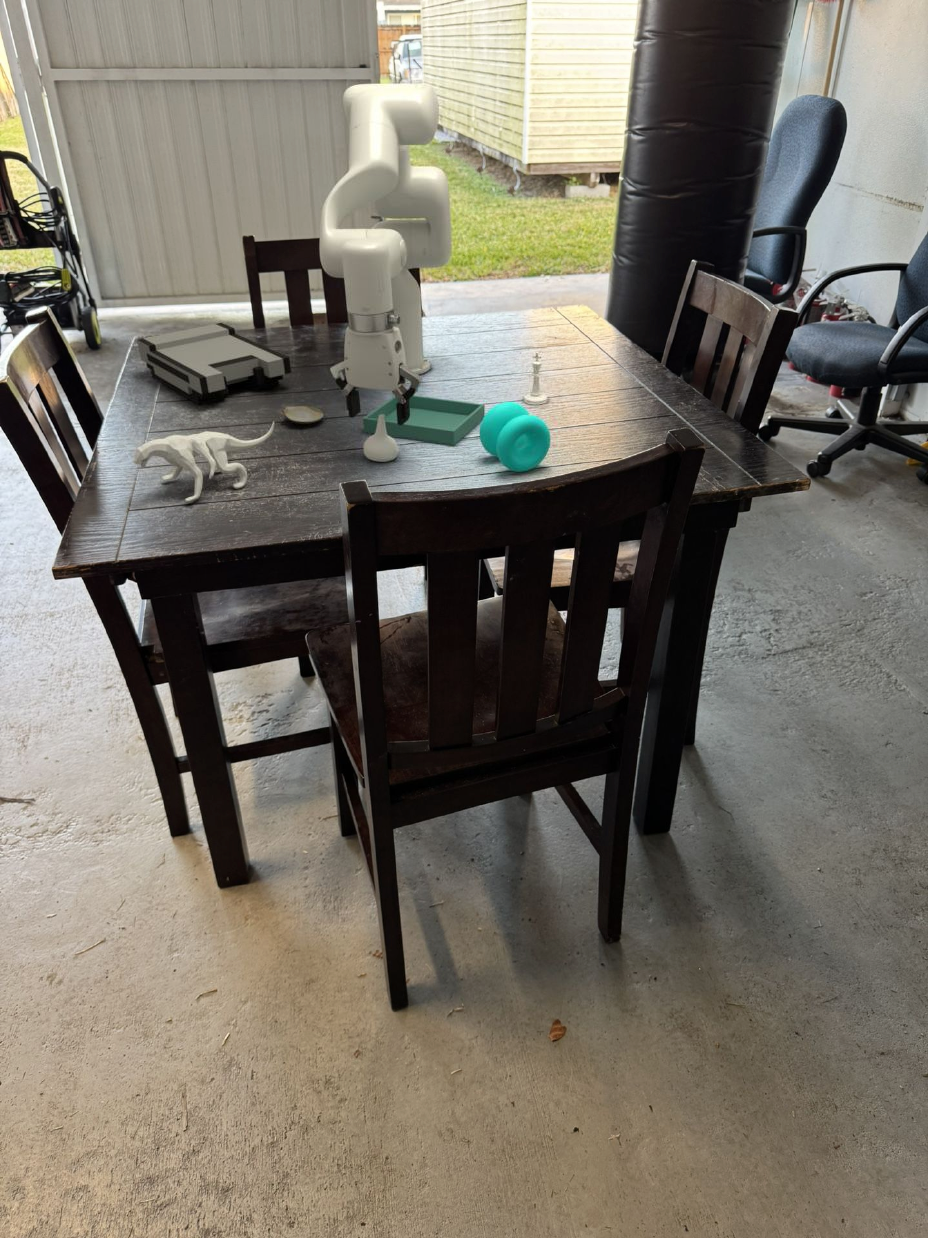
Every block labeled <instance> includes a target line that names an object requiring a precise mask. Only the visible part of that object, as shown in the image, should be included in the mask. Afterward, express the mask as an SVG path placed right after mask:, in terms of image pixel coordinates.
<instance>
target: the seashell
mask: <svg viewBox="0 0 928 1238" xmlns="http://www.w3.org/2000/svg"><path fill="white" fill-rule="evenodd" d="M279 415H280V416H283V417H284V416H285V418H286V419H287V420H288V421H290V422H292V423H294V424H299V425H309V424H313V423H317V422H319V421H321V420H322V419H323V418H324V412H323V411H321V410H320V409H318V408H316V407H313V406H306V405H300V406H286V407H284V409H283V410H281V411H280V412H279Z"/></svg>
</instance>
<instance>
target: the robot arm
mask: <svg viewBox="0 0 928 1238" xmlns="http://www.w3.org/2000/svg"><path fill="white" fill-rule="evenodd" d="M342 107H343V112H344V115H345V118H346V120H347V123H348V125H349V136H348V137H349V140H348V141H349V142H348V172H346V173H345V175H343V176H342V177H341V179H339V181H338V182H337V183H336V184H335V185H334V186H333V188H332V190H331V191H330V192H329V194H328V195H327V196H326V199H325V201H324V203H323V206H322V208H321V212H320V213H321V214H320V221H319V223H320V224H319V225H320V226H319V260H320V263H321V266H322V269H323V271H324V272H325V273H326V274H327V275H328V276H329V277H332V278H334V279H335V278H336V279H343V280H344V281H343V282H344V291H345V300H346V302H345V303H346V312H347V313H346V314H347V322H348V326H347V327H346V329H345V334H344V335H345V336H344V349H343V351H344V352H343V354H344V355H343V357H344V360H343V361H340V362H338V363H336V364H334V365H332V366H331V367H330V368H329V371H330V373H331V375H332V377H333V378H334V379H335V384H336V385H337V386H338V387H339V388H340V389H341V391H342V392H341V393H342V394H343V396H345V400H346V410H347V411H348V417H349V418H351V419H353V418H355V417H356V416H358V415H359V414H360V413H361V411H362V409H361V399H360V398H361V397H360V391H359V390H357V388H359V389H367V390H373V391H381V392H391V393H392V394H393V395H394V396H395V397H396V398H397V399H398V401H399V402H398V403H397V404H396V410H397V424H398V425H403V424H404V423H405V422H406V421H408V419H409V417H410V405H409V399H410V398H411V397H412V396H413V395H416V393H418V391H419V388H420V386H421V384H422V382H423V378H422V376H421V375H422V374H425V373H427V372H428V371H429V370H430V369H431V361H430V360H428V359H427V358H425V357H424V342H423V318H422V316H423V315H422V296H421V288H420V285H419V283H418V282H417V280H416V279H415V277H414V276H413V275H412V273H411V272H410V271H409V269H410V270H411V269H433V268H443V267H445V266H446V265H448V264H449V262H450V260H451V256H452V248H453V247H452V245H453V244H452V223H451V221H452V220H451V200H450V188H449V182H448V178H447V175H446V173H445V172H444V170H443V169H441V168H440V167H437V166H433V165H432V166H431V165H427V166H426V165H425V166H424V165H423V166H420V165H417V166H414V165H412V164H411V157H410V156H411V155H410V146H425V145H429V144H431V143H432V142H433V140H434V138H435V134H436V132H437V129H438V125H439V119H440V104H439V98H438V95H437V92H436V90H435V87H433V85H431V84H430V83H422V82H421V83H418V82H417V83H415V82H414V83H413V82H412V83H360V84H354V85H351V86H349V87H348V88H347V89H345V91H344V93H343V95H342ZM370 204H372V207H373V209H374V210H373V211H374V212H375V214H377V215H378V216H379V217H381V218H383V219H386V220H382V221H378V222H377V223H375V224H374V225H373V226H372V227H371V228H341V225H342V223H343V222H344V221H345V220H346V218H348V217H349V216H350V215H351V214H353V213H354V212H356V211H358V210H360V209H362V208H364V207H366V206H368V205H370ZM343 370H344V373H345V374H344V373H343ZM334 379H333V380H334ZM408 381H409V383H410V385H409V388H408V387H407V385H405V384H407V382H408Z"/></svg>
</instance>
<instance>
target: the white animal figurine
mask: <svg viewBox="0 0 928 1238" xmlns="http://www.w3.org/2000/svg"><path fill="white" fill-rule="evenodd" d="M274 429H275V421H274V420H273V421H272V424H271V426H270V428H269V430H268V431H267V433H265V434H264V435H262V436H260V437H259V438H254V439H249V440H242V439H238V438H236V437H234V436H232V435H230V434H227V433H223V432H218V431H208V430H207V431H206V430H204V431H203V432H200V433H192V434H188V435H181V434H173V435H168V436H166V437H165V438H164V437H163V438H157V439H152V440H150V441H146V442H145V443H143V444H141V445H140V446H139V447H136V449H135V453H134V457H133V460H132V463H134V464H135V465H137V466H138V465H140V468H142V469H143V468H146V467H147V464H148V462H149V460H150V459H151V458H152V457H154V456H155V457H160V458H163V459H164V460H165V461H166V462H167V463H169V464H170V465H171V466H172V467H174V468H173V471H172V472H171V473H169V474H166V475H163V476H162V477H161V480H162V481H163V482H165V483H168V482H170V481H172V480H175V479H177V478H178V476H179V475H180V473H181V472H183V471H182V470H183V469H184V470H187V471H189V472H190V473H191V475H192V476H193V477H194V493H193V495H192V496H189V497H186V498H185V499H184V502H185V503H191V502H193V501H197V500H198V499H199V498H200V496H201V494H202V490H203V483H204V482H203V481H204V477H203V473H202V470H201V469H200V468H199V466H198V465H197V464H196V460H195V458H196V457H198V456H201V457H202V458H203V459H204V460H206V461H207V463H208V464H209V467H210V470H209V476H208V480H211V479H212V478H213V477H214V476H215V475H214V474H215V473H222V474H225V475H231V474H232V475H233V474H234V473H235V472H237V474H238V475H239V481H238V482H235V483H233V484H232V488H233V489H236V490H238V489H242V488H244V487H245V485H246V484H247V481H248V473H247V470H246V468H245V466H244V465H243V464H241V463H240V462H231V463H228V462H229V461H228V455H227V452H235V451H237V452H238V451H242V450H248V449H251V448H255V447H258V446H259V445H261V444H263V443H264V442H265V441H266V440H268V439H269V438H270V437H271V435H272V434H273V433H274Z"/></svg>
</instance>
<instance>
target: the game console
mask: <svg viewBox="0 0 928 1238" xmlns="http://www.w3.org/2000/svg"><path fill="white" fill-rule="evenodd" d="M136 342H137V346H138V350H139V356H140V360H142V362H145V364H146V368H147V369H149V370H150V374H151V377H152V378H153V379H155V380H156V381H158V382H160V383H161V384H163V385H165V386H166V387H168V388H170V389H171V390H173V391H174V392H177V393H178V394H180V395H182V396H184V397H185V398H186V399H188V400H190V401H192V402H194V403H195V404H197V405H203V404H207V403H211V402H215V401H220V400H222V399H226V397H225V395H226V394H229V387H228V386H229V385H233V384H236V383H237V384H241V385H243V386H245V387H247V388H249V389H251V390H253V391H258V390H263V389H267V388H270V387H275V386H278V385H279V384H280V383H279V381H281V380H284V375H287V374H292V368H291V360H290V359H291V358H290V356H288V355H285V354H283V353H280V352H278V351H276V350H274V349H271V348H269V347H267V346H265V345H262V344H260V343H258V342H256V341H253V340H251V339H249V338H246V337H244V336H243V335H239V334H237V333H236V329H235V328H234V327H233V326H230V325H228V324H227V323H224V322H218V323H212V324H208V325H204V326H197V327H193V328H188V329H183V330H178V331H173V332H168V333H163V334H157V335H153V336H148V337H143V338H139V339H136Z"/></svg>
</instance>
